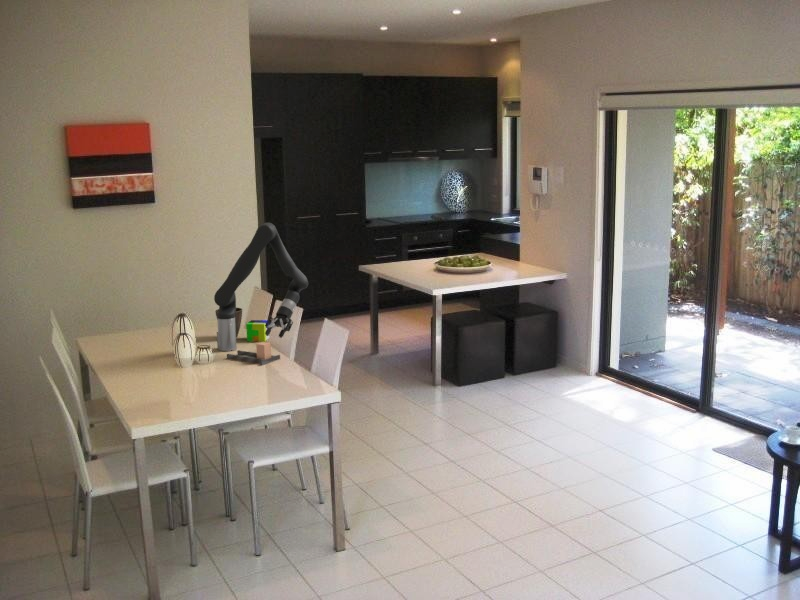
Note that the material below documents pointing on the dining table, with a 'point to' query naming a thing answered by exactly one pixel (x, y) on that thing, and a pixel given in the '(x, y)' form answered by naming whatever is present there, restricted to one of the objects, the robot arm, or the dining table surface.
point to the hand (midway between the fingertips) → (273, 336)
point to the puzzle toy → (256, 330)
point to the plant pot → (236, 319)
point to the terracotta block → (263, 350)
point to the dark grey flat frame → (250, 358)
